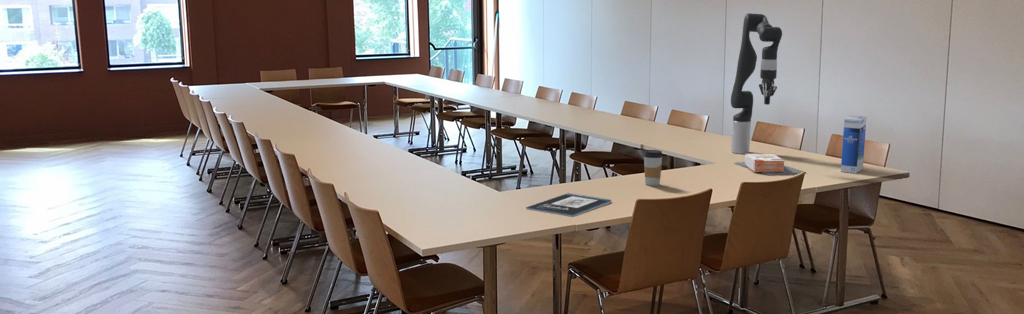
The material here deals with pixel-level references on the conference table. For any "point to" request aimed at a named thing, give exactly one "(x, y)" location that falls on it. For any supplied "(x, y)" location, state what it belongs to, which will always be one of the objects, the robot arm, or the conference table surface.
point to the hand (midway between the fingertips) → (766, 104)
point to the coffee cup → (652, 167)
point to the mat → (786, 171)
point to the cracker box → (764, 162)
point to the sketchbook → (570, 204)
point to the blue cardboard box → (853, 144)
